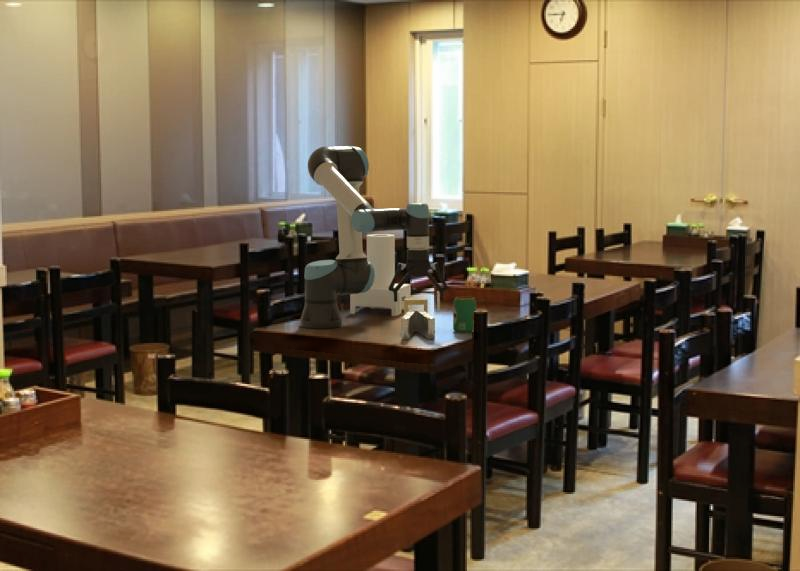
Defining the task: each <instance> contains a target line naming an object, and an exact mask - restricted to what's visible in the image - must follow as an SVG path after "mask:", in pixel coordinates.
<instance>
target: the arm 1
mask: <svg viewBox="0 0 800 571" xmlns="http://www.w3.org/2000/svg"><path fill="white" fill-rule="evenodd" d="M415 332H416V330H415V311H409V310H408V312H407V313H406V314H405V315H404V314H403V316H402V317H401V340H409V339H410V338H411V337H412V336H413V334H414V333H415Z"/></svg>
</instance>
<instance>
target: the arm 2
mask: <svg viewBox="0 0 800 571" xmlns="http://www.w3.org/2000/svg"><path fill="white" fill-rule="evenodd" d="M435 323H436V318H435V317H434V316H432V315H431V314H429V313H426V312H425V311H424V310H423V311H417V330H416V331H417V332H418V333H419V334H421V335H422V336H423V337H424V338H426V339H427V340H435V339H436V324H435Z"/></svg>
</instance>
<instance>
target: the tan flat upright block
mask: <svg viewBox="0 0 800 571" xmlns="http://www.w3.org/2000/svg"><path fill="white" fill-rule="evenodd" d="M428 303H429V302H428V298H411V299H404V301H403V316H404V315H405V314H406V313H407V312H408V311H409V310H408V305H411V306H412V305H414V306H415V305H416V306H420V305H421V306H423V311H425V312H426V313H428V312H429V311H428V308H429V307H428V305H429V304H428ZM428 314H429V313H428Z"/></svg>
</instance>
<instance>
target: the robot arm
mask: <svg viewBox="0 0 800 571" xmlns="http://www.w3.org/2000/svg"><path fill="white" fill-rule="evenodd" d="M307 161H308V162H307V170H308V174H309V176H310V178H311V179H312V181H313V182H315V183H316V185H319V186H322V187H323V189H325V190H326V191H327V192H328V193H329V195H330V196H331V197H333V199H334V200H335V201H336V211H337V212H336V214H337V228H338V233H337V234H338V246H339V247H338V248H339V250H338V251H339V254H337V256H336V257H335V260H334V259H324V260H321V259H320V260H317V261H312V262H310V263H307V264H306V266H305V267H304V307H303V309H302V313H301V316H300V322H299V323H300V324H299V326H300V327H302V328H306V329H316V330H317V329H319V330H320V329H334V328H339V327H342V326H343V319H342V315H341V313H340V312H341V311H340V309H339V306H338V296H346V295H350V294H359V293H364V292H367V291H368V290H369V289H370V288H371V286H372V285H373V282H374V278H375V271H374V267H373V265H372V264H371V263H370V262H368V261H367V254H365V252H363V251H364V250H363V249H364V248H363V233H370V232H371V233H373V232H388V231H389V232H390V231H406V248H407V250H406V263H402V262H398V264H397V268H396V269H397V270H395V275H394V277H393V279H392V282H391V284H390V286H389V291H393V292H394V302H397V312H400V293H399V292H397V291H398V290H399V289H400V288H401V287H402V285H403V284H406V283H407V280H408V279H410V277H411V276H412V277H424V276H426V277H427V278H428V279H429V281H430V282H431V283H432V284H433V285H434V286H435V288H436V289H437V290H438V291H436V310H437V312H441V302H444V292H445V291H447V290H449V286H448V285H447V282H446V280H445V278H444V276H443V274H442V273H441V271H440V267H439V263H438V262H434V263H430V250H429V249H428V248H430V212H429V204H428V203H426V202H411V203H410V202H409V203H407V204H406V208H403V207H391V208H374V207H373V206H372V205H371V204H370V203H369V202H368V200H366V199H365V198H364V197H363V196H362V194H360V187H361V185H363V183H364V178H366V176H367V175H368V171H369V170H370V162H369V158H368V156H367V154H366V152H365V151H364V150H363V149H362V148H360V147H358V146H352V145H345V146H342V145H341V146H339V145H338V146H327V145H326V146H321V147H318V148H316V149H315V150H314V151H313V152H311V154H310V155H309V158H308V160H307ZM431 268H432V269H433V270H434V271H435V273H436V275H437V276H438V278H439V281H440V282H441V284H442V286H441V285H440V284H439V283H438V282H437V280H436V279H435V277H433V276H432V274H431V273H430V272H429V270H430V269H431ZM404 269H406V270H407V272H406V274H405V275H404V277H403V278H401V280H400V281H399V282H398V283H397V284H398V285H397V286H396V287H395V288H393V287H394V285H395V284H396V282H397V280H398V278H399V276H400V274H401V271H403V270H404Z"/></svg>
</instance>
